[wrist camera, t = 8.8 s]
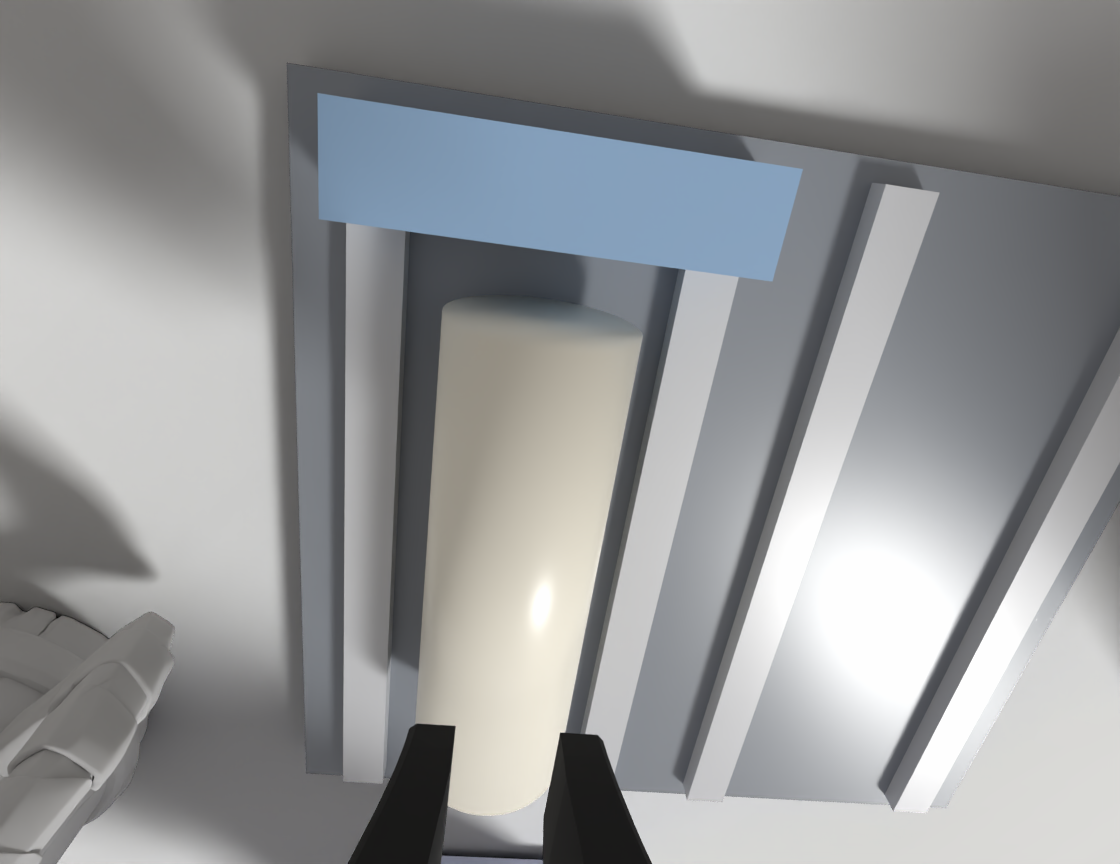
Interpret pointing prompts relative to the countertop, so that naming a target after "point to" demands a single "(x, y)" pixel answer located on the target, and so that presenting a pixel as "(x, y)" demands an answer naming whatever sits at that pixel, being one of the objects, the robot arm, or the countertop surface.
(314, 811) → the countertop surface
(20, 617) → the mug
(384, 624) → the board
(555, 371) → the cream paper roll
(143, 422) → the countertop surface
